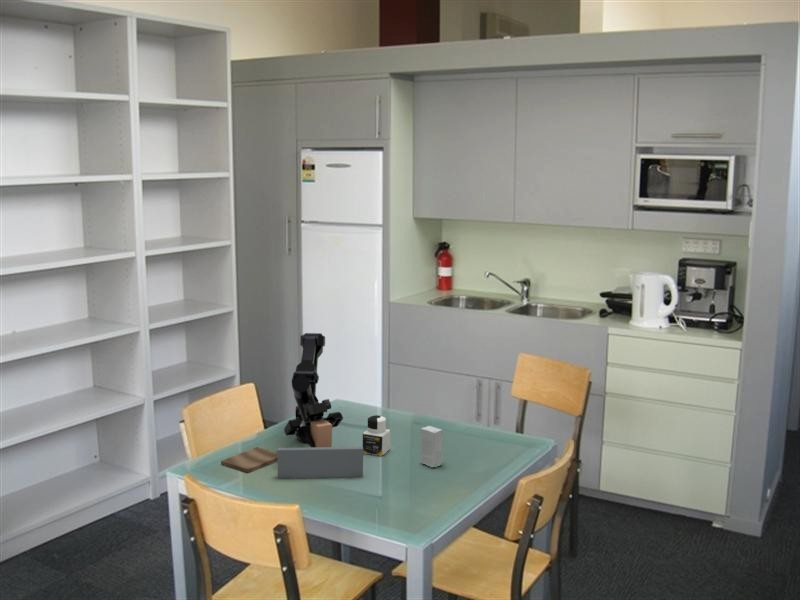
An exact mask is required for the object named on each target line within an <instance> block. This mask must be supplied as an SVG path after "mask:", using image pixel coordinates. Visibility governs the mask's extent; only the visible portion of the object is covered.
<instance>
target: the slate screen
mask: <svg viewBox="0 0 800 600" xmlns="http://www.w3.org/2000/svg"><path fill="white" fill-rule="evenodd" d="M276 453H277V463H276V464H277V479H314V478H315V479H317V478H318V479H319V478H325V477H326V478H362V477H361V476H363V477H364V453H363V446H332V447H310V446H308V447H277V451H276Z"/></svg>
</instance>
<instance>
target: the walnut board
mask: <svg viewBox="0 0 800 600" xmlns="http://www.w3.org/2000/svg"><path fill="white" fill-rule="evenodd" d="M276 462H277V452H274V451H271V450H269V449H266V448H261V447H254V448H250V449H249V450H246V451H243V452H241V453H238V454H236V455H233V456H230V457H227V458H225V459H222V460H221V461H220V465H221V464H223V465H222V466H224V465H226V466H225V467H228V466H229V467H228V468H231V467H232V468H231V469H235V470H237V471H240V472H243V473H246V474H249V473H252V472H254V471H257V470H260V469H262V468H265V467H267V466H269V465H271V464H274V463H276Z"/></svg>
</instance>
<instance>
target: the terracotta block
mask: <svg viewBox="0 0 800 600" xmlns="http://www.w3.org/2000/svg"><path fill="white" fill-rule="evenodd" d="M310 434H311V436H312V439H313V441H314V444H315V447H333V446H332V442H333V441H332V439H333V427H332V424H331V423H329V422H327V421H326V420H320V421H314V422H311V427H310ZM309 447H311V446H309Z"/></svg>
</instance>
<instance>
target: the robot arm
mask: <svg viewBox="0 0 800 600" xmlns="http://www.w3.org/2000/svg"><path fill="white" fill-rule="evenodd" d="M299 339H300V341H299V342H300V344H299V346H300V347H302V353H301V361H300V363H299V364H297V365H296V367H295V371H294V372H293V374H292V377H291V387H292V390H293V396H294V399H295V402H296V404H297V405H296V406H295V419H294V418H293V419H289V420H288V422H286V425H285V426H284V428H283V430H284V434H285V436H287V437H288V436H292V435H295V437H296V438H297V439H298V440H299V441H301V442H302V443H304V444H305V443H306V444H307V445H308V447H310V446H311V447H315V444H314V441H313V439H312V436H311V434H310V427H311V422H314V421H320V420H326V421H327V422H329V423H331V424H332V428H337V427H338V426H339V425H340V424H341V423H342V421H343V420H344V416H343V414H342V413H341V412H340V411H336V412H329V414H328V415H327V417H324V415H325V414H324V413H328V411H329V410H331V409H332V404H331V401H330V399H329V398H327V399H326V398H325V399H323V400H322V401H321V402H319V399H318V397H317V396H316V392H317V384H318V383H319V378H320V376H319V375H318V374H319V373H318V361H319V358H320V357H321V355H322V354H323V352H324V347H325V346H326V336H325V335H323V333H318V332H317V333H315V332H314V333H313V332H312V333H311V332H310V333H309V332H306V333H303V334H302V335H300V338H299Z"/></svg>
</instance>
